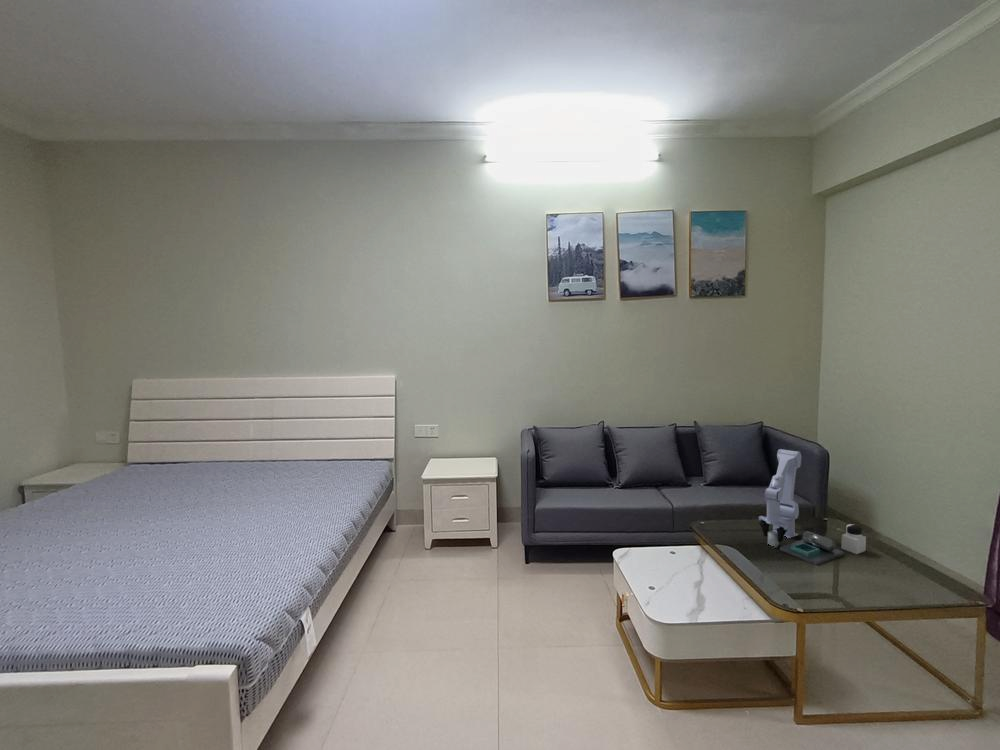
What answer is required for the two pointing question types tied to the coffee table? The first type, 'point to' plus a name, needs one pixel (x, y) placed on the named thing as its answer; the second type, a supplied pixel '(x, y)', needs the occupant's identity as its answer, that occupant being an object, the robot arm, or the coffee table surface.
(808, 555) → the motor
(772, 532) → the white rounded cylinder
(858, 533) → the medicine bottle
